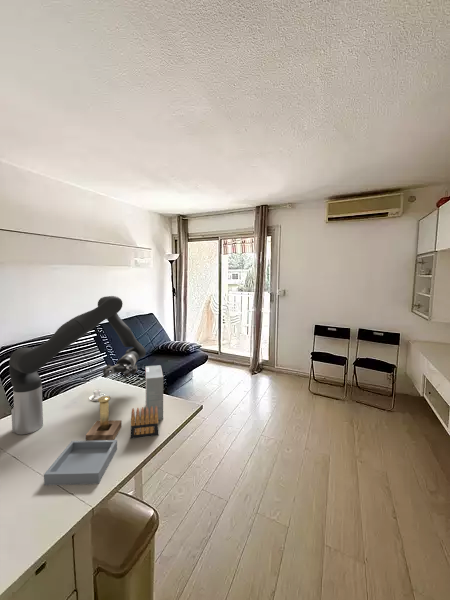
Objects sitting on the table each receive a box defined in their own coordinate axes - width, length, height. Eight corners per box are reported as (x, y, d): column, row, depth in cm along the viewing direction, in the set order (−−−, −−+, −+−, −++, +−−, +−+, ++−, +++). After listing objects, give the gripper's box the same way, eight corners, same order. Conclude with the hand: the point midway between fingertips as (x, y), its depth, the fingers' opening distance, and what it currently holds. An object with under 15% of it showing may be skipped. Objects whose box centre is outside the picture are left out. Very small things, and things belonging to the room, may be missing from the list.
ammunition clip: (158, 432, 105) (158, 404, 104) (158, 435, 104) (158, 406, 102) (130, 435, 103) (130, 407, 102) (130, 438, 101) (130, 409, 100)
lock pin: (96, 438, 101) (95, 401, 99) (101, 431, 105) (100, 395, 104) (108, 437, 101) (107, 401, 100) (112, 431, 105) (111, 395, 104)
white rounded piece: (100, 402, 129) (100, 394, 129) (84, 402, 129) (84, 394, 129) (108, 394, 138) (108, 387, 138) (94, 394, 138) (93, 386, 138)
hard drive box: (145, 405, 127) (145, 366, 125) (161, 403, 130) (161, 364, 128) (145, 422, 112) (145, 378, 111) (163, 419, 115) (164, 376, 113)
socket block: (85, 442, 98) (85, 435, 97) (97, 427, 108) (97, 420, 107) (112, 442, 98) (112, 434, 98) (121, 427, 108) (121, 420, 108)
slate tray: (44, 485, 78) (43, 474, 77) (72, 449, 94) (71, 440, 93) (98, 483, 79) (98, 473, 78) (117, 449, 95) (117, 440, 94)
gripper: (111, 355, 129) (98, 367, 112) (141, 355, 129) (131, 367, 113) (112, 370, 129) (98, 383, 113) (141, 370, 130) (131, 383, 114)
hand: (115, 375), depth 113 cm, fingers open, 8 cm apart
